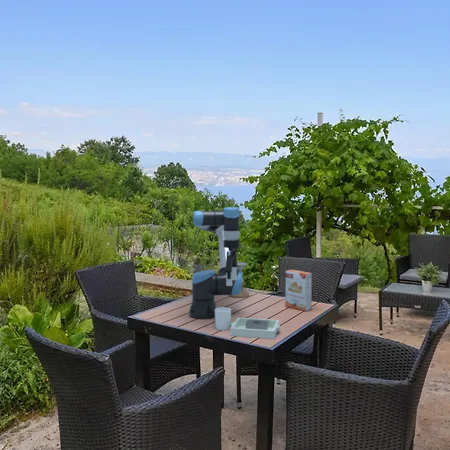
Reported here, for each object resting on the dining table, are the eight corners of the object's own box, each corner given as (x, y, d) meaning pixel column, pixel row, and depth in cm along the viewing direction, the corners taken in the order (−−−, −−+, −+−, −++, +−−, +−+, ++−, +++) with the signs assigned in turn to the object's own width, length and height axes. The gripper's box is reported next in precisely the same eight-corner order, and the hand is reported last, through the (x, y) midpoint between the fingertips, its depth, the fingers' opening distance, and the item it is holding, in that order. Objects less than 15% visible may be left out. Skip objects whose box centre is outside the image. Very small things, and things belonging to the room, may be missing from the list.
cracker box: (284, 307, 264) (285, 270, 262) (291, 305, 269) (291, 269, 267) (305, 311, 254) (305, 273, 252) (311, 309, 259) (312, 272, 257)
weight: (245, 329, 222) (245, 321, 222) (247, 326, 226) (247, 319, 226) (266, 330, 220) (266, 323, 219) (267, 327, 224) (268, 320, 223)
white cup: (230, 327, 228) (230, 307, 227) (231, 332, 220) (231, 311, 220) (214, 327, 228) (214, 307, 227) (214, 332, 220) (214, 311, 219)
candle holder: (238, 299, 283) (238, 266, 281) (225, 295, 292) (225, 263, 290) (253, 295, 291) (253, 263, 289) (239, 292, 300) (239, 261, 298)
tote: (227, 337, 213) (227, 328, 213) (235, 326, 229) (235, 317, 229) (277, 341, 208) (277, 331, 207) (281, 329, 224) (281, 320, 224)
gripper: (235, 242, 214) (235, 288, 215) (242, 236, 238) (242, 278, 240) (218, 242, 215) (219, 287, 217) (228, 236, 239) (228, 277, 241)
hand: (231, 282), depth 228 cm, fingers open, 13 cm apart
